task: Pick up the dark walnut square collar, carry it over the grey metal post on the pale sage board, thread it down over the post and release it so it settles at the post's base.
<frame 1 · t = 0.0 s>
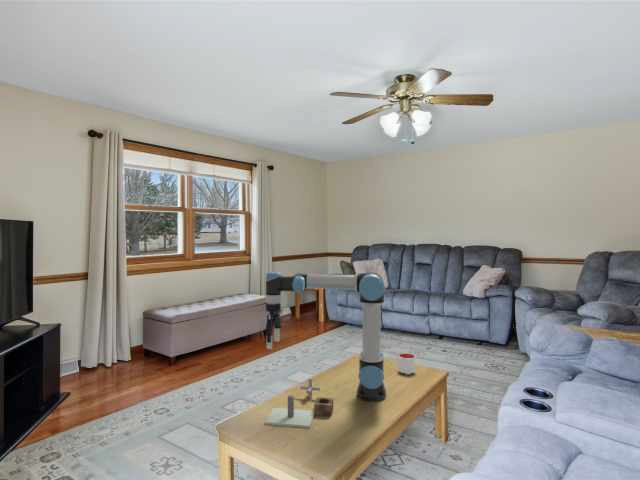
hand: (273, 344, 192), 28 cm above the table, fingers open, 13 cm apart
pipe connector: (310, 398, 195), on the table
cup: (406, 372, 232), on the table
post stand: (290, 418, 173), on the table
collar: (323, 411, 180), on the table
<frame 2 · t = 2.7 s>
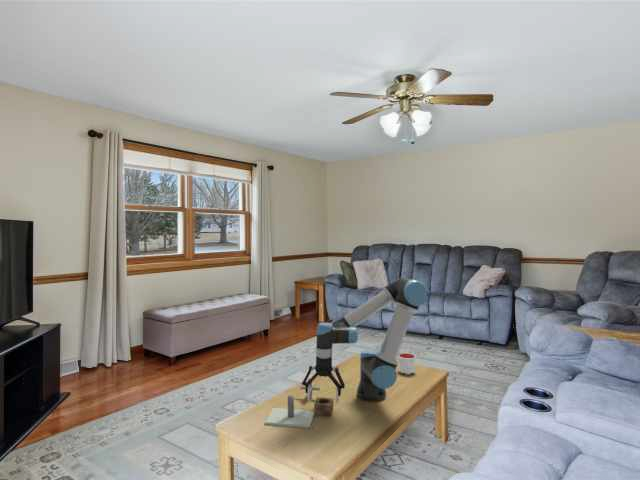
hand: (322, 401, 180), 5 cm above the table, fingers open, 13 cm apart
nothing on the table moved.
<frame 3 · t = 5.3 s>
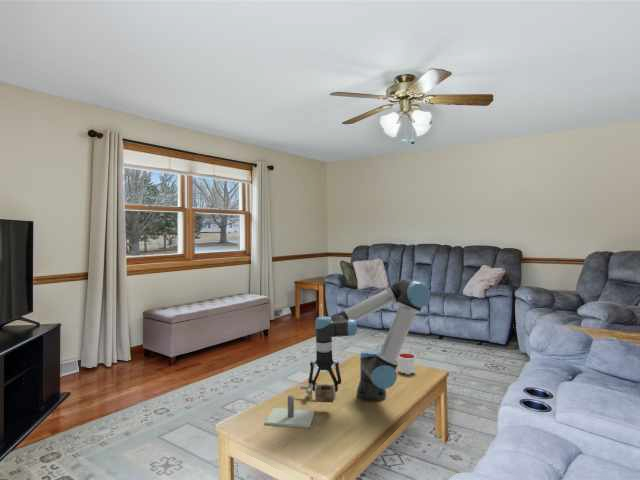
hand: (325, 397, 180), 7 cm above the table, fingers closed on collar, 8 cm apart
collar: (325, 398, 180), point 6 cm above the table, touching gripper
everything else where it was.
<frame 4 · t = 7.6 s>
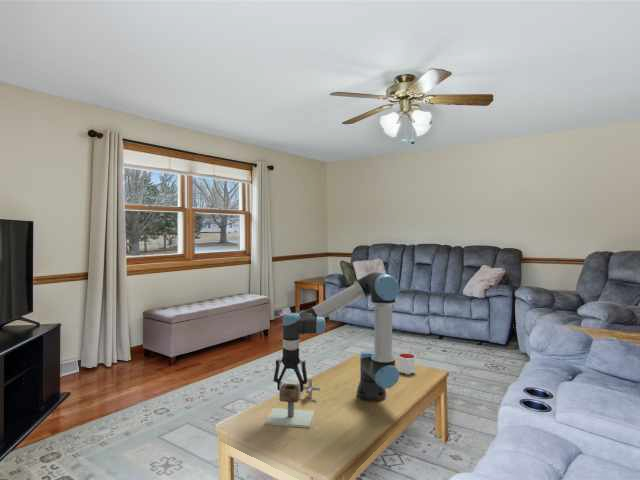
hand: (290, 397, 173), 10 cm above the table, fingers closed on collar, 8 cm apart
collar: (290, 398, 173), point 9 cm above the table, touching gripper
everything else where it was.
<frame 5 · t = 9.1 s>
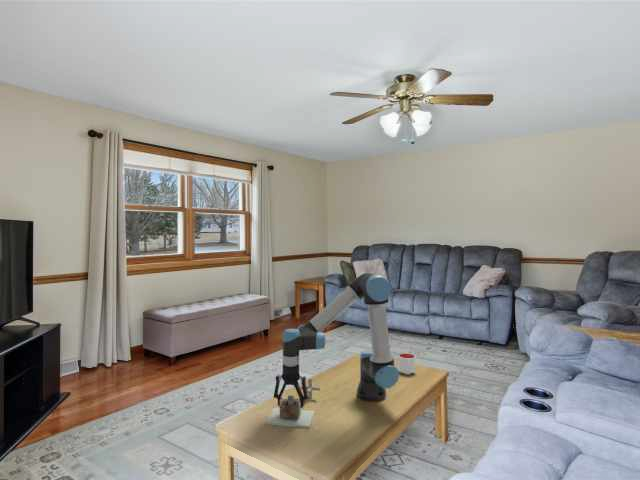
hand: (290, 413, 173), 2 cm above the table, fingers closed on collar, 8 cm apart
collar: (290, 414, 173), point 2 cm above the table, touching gripper
everything else where it was.
when the fingers open (2 cm above the table, at t = 10.3 s): collar stays where it is, resting on post stand.
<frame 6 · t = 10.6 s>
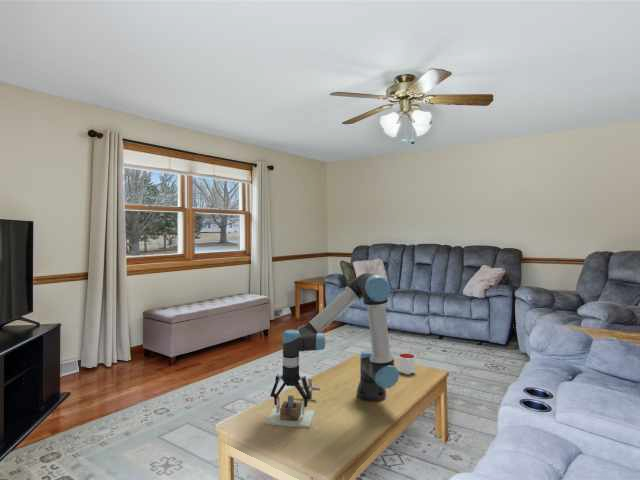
hand: (290, 412, 173), 3 cm above the table, fingers open, 11 cm apart
collar: (290, 416, 173), point 1 cm above the table, touching post stand
everything else where it was.
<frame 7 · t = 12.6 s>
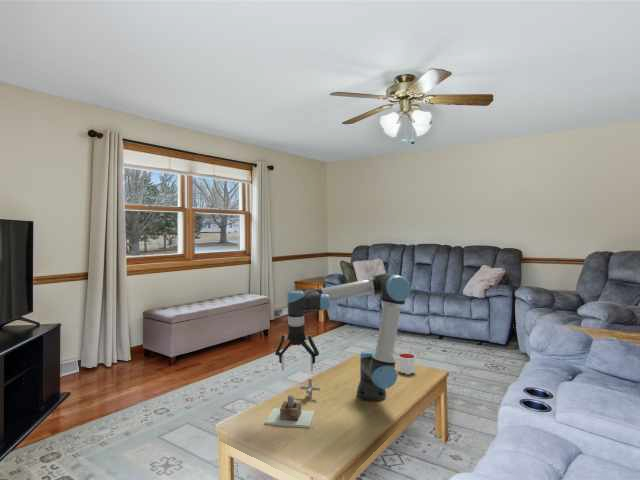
hand: (297, 370, 176), 21 cm above the table, fingers open, 13 cm apart
nothing on the table moved.
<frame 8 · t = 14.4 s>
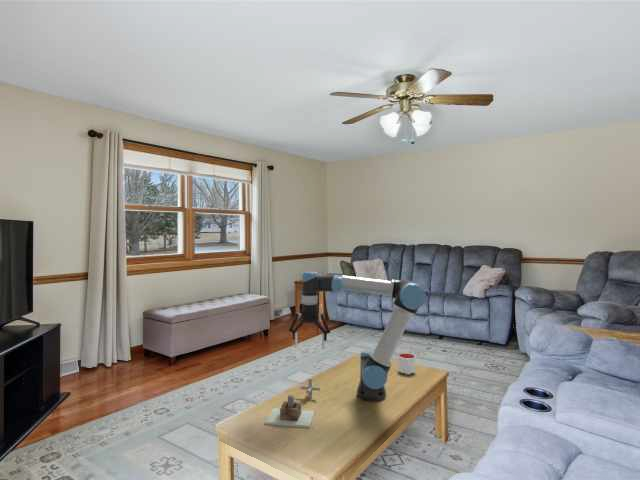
hand: (309, 346, 186), 29 cm above the table, fingers open, 13 cm apart
nothing on the table moved.
at the end: collar 0.0 cm off-centre on the post stand, point 1.0 cm above the post stand's base; the gripper is holding nothing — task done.
